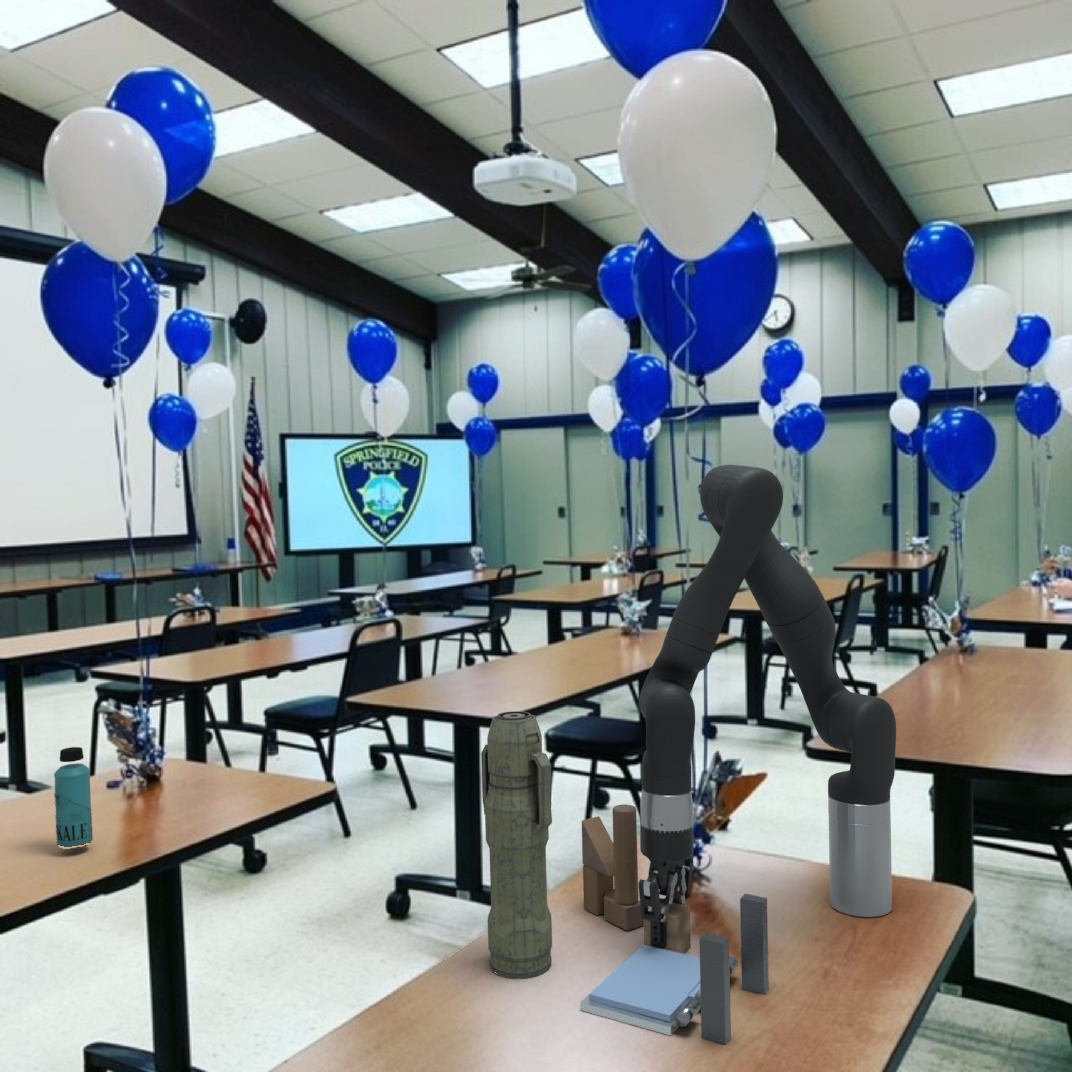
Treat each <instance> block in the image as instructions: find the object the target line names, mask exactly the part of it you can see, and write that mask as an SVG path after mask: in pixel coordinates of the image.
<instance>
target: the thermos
mask: <svg viewBox="0 0 1072 1072" xmlns="http://www.w3.org/2000/svg"><path fill="white" fill-rule="evenodd" d="M486 742H487V743H486V744H484V747H483V749H482V750H481V753H480V755H481V758H480V759H481V760H480V761H481V788H482V790H481V791H482V792H481V793H482V794H481V795H482V798H481V799H482V805H483V812H484V813H483V815H484V822H485V829H484V830H485V842H486V844H487V847H488V848H489V872H490V873H489V876H490V878H489V880H490V883H489V884H490V885H489V886H490V909H489V913H488V916H487V943H488V949H487V950H489V954H490V958H489V959H490V960H489V968H490V967H491V968H490V970H491V969H492V970H493V971H494V972H496V973H497V974H498V976H500V975H502V976H501V977H503V976H505V977H504V978H506V977H509V978H508V979H513V978H525V979H530V978H535V977H539V976H541V975H544V974H545V973H546V972H548V971H549V970H550V968H551V967H552V952H551V950H552V949H553V936H552V935H553V931H552V930H553V927H552V926H553V925H552V920H553V919H552V913H551V911H550V909H549V906H548V886H547V883H548V882H547V854H546V853H547V852H546V851H547V850H546V847H547V844H548V841H549V839H550V837H549V835H550V830H549V827H550V826H551V825H552V824H553V818H552V816H553V814H552V763H551V761H550V759H549V757H548V755H547V753H545V752H543V739H542V730H541V728H540V725H539V723H538V720H537V717H536V715H534V714H531V713H530V712H526V711H519V710H513V711H511V710H510V711H504V712H501V713H498V714H497V715H495V716H494V717H492V718H491V723H490V726H489V730H488V734H487V739H486ZM492 970H491V971H492ZM493 971H492V972H493ZM494 972H493V973H494ZM496 973H495V974H496ZM497 974H496V975H497Z"/></svg>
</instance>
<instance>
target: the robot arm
mask: <svg viewBox="0 0 1072 1072" xmlns="http://www.w3.org/2000/svg"><path fill="white" fill-rule="evenodd" d="M782 486H783V485H782V484H781V481H780V480H779V478H778V477H777V476H776V475H775V474H774V473H773V472H771V471H770V470H768V469H765V468H761V467H755V466H749V465H748V466H747V465H740V464H739V465H738V464H724V465H718V466H716V467H713V468H712V469H711V470H709V471H708V472H707V473H706V475H705V476H704V477H703V480H702V482H701V485H700V490H699V491H700V492H699V496H700V497H699V499H700V504H701V508H702V510H703V513H704V515H705V517H706V518H707V520H708V522H709V523H710V525H711V526H712V528H713V530H714V531H715V532H716V533H717V535H718V537H719V539H718V542H717V544H716V547H715V548H714V551H713V553H712V554H711V556H710V558H709V559H708V561H707V562H706V564H705V566H704V567H703V568H702V570H701V571H700V572H699V573H698V575H697V576H696V577H695V578H694V580H693V581H692V582H691V584H690V585H689V586H688V587H687V589H686V590H685V591H684V593H683V594H682V596H681V597H680V600H678V603H677V605H676V608H675V610H674V613H673V615H672V618H671V620H670V623H669V626H668V629H667V631H666V634H665V637H664V640H663V643H662V647H661V649H660V651H659V654H658V655H657V657H656V658H655V660H654V662H653V664H652V666H651V668H650V670H649V672H648V674H647V676H646V677H645V680H644V683H643V685H642V688H641V690H640V694H639V699H638V705H639V709H640V712H641V715H642V716H643V718H644V720H645V726H646V727H645V730H646V731H645V748H646V749H645V750H644V751H643V755H642V759H641V760H642V761H641V797H640V803H639V814H640V815H639V820H640V822H639V824H640V825H639V826H640V827H639V829H640V830H639V832H640V833H639V835H640V836H639V838H640V839H639V840H640V842H639V843H640V844H639V845H640V847H639V848H640V849H639V850H640V852H641V854H642V855H643V856H644V857H645V858H647V859H648V860H649V868H648V875H647V876H648V877H647V879H639V880H638V896H639V901H640V904H641V912H642V919H644V920H649V921H650V943H651V945H652V946H653V947H656V948H660V949H664V948H665V947H666V946H667V922H666V920H667V914H668V907H669V906H670V905H672V903H677V904H682V905H687V904H686V903H687V902H686V900H690V898H691V894H692V893H691V892H692V881H693V868H694V857H693V854H694V801H693V796H692V795H693V794H692V792H693V791H692V788H693V786H692V783H693V782H692V761H691V759H692V757H691V756H692V752H693V744H694V738H695V729H696V728H695V727H696V708H695V702H694V700H693V697H692V695H691V692H692V690H693V687H694V685H695V683H696V680H697V678H698V676H699V673H700V672H701V671H703V670H705V669H706V668H707V666H708V665H709V662H710V660H711V658H712V656H713V652H714V650H715V647H716V644H717V642H718V639H719V636H720V633H721V632H722V629H723V626H724V622H725V620H726V619H727V615H728V613H729V610H730V608H731V606H732V603H733V601H734V599H735V598H736V595H737V593H738V591H739V589H740V587H741V586H742V584H743V582H744V581H745V582H746V585H747V587H748V589H749V591H750V592H751V594H752V596H753V598H754V600H755V603H756V604H757V606H758V608H759V610H760V612H761V615H762V618H764V621H765V623H766V625H767V628H768V629H769V630H770V633H771V635H772V636H773V639H774V640H775V642H776V644H778V646H779V648H780V650H781V653H782V654H783V656H784V659H785V660H786V663H787V664H788V666H789V669H790V671H791V672H792V674H793V677H794V679H795V681H796V683H797V684H798V687H799V689H800V692H801V695H802V697H803V699H804V702H805V705H806V708H807V711H808V713H809V715H810V716H809V717H810V718H811V721H812V724H813V726H814V729H815V730H816V732H817V734H818V736H819V738H821V740H822V741H823V743H825V744H827V746H829V747H832V748H833V749H836V750H840V751H843V752H846V753H847V752H848V753H850V754H851V756H850V767H849V770H844V771H839V772H836V773H833V774H832V775H831V776H829V778H828V780H827V801H828V803H827V804H828V805H827V809H828V813H827V814H828V849H829V850H828V857H829V858H828V859H829V905H830V906H831V907H832V908H833V909H834V910H836V911H838V912H840V913H843V914H844V915H845V914H846V915H849V916H854V917H862V918H873V917H874V918H875V917H882V916H885V915H888V914H889V913H890V912H891V911H892V910H893V899H892V898H893V896H892V895H893V893H892V892H893V891H892V890H893V888H892V885H893V884H892V880H893V878H892V877H893V876H892V874H893V873H892V871H893V869H892V827H891V826H892V820H891V818H892V817H891V816H892V815H891V789H892V786H893V782H894V779H895V772H896V749H897V748H896V747H897V722H896V715H895V712H894V710H893V708H892V705H891V704H890V703H889V702H888V701H887V700H885V699H884V698H881V697H878V696H872V695H868V694H862V693H858V692H852V691H850V690H848V689H847V687H846V686H845V685H844V683H843V682H842V679H841V678H840V676H839V674H838V672H837V670H836V668H835V666H834V662H833V653H834V647H835V641H836V622H835V618H834V615H833V613H832V611H831V609H830V606H829V605H828V602H827V601H826V599H825V597H824V594H823V592H822V590H821V589H820V587H819V585H818V584H817V582H816V581H815V580H814V579H813V577H812V576H811V575H810V574H809V572H808V571H807V570H806V569H805V568H804V567H803V566H802V565H801V563H799V561H797V560H796V559H795V557H794V556H793V555H792V554H791V553H790V552H789V551H788V550H787V549H786V548H785V547H784V545H782V544H781V542H780V541H779V539H778V538H777V537H776V535H775V534H774V533H773V531H772V529H773V527H774V526H775V524H776V521H777V520H778V518H779V516H780V515H779V514H781V510H782V507H783V503H784V492H783V487H782ZM660 896H664V897H665V898H663V897H660ZM660 904H661V905H662V910H661V907H660ZM648 907H649V909H648Z"/></svg>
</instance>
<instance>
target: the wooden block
mask: <svg viewBox="0 0 1072 1072" xmlns="http://www.w3.org/2000/svg"><path fill="white" fill-rule="evenodd" d="M637 828H638V826H637V808H636V806H635V805H631V804H624V803H623V804H618V805H614V806H613V808H612V838H611V836H610V834H609V833H608V831H607V829H606V827H605V824H604V822H603V821H602V819H601V817H600V816H594V817H589V818H586V819H583V820H581V844H582V845H581V849H582V850H581V851H582V885H583V909H584V910H586V911H587V912H590V913H591V914H592V915H593V914H594V915H595V916H600V915H602V914H603V916H604V917H603V918H604V919H605V921H607V922H609V923H611V924H612V925H615V926H616V927H619V928H620V929H622V930H624V931H627V932H628V931H631V930H633V929H636V928H639V927H642V926H643V927H644V925H643V919H642V912H641V904H640V899H639V886H638V884H639V873H638V872H639V871H638V868H639V867H638V829H637Z"/></svg>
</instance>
